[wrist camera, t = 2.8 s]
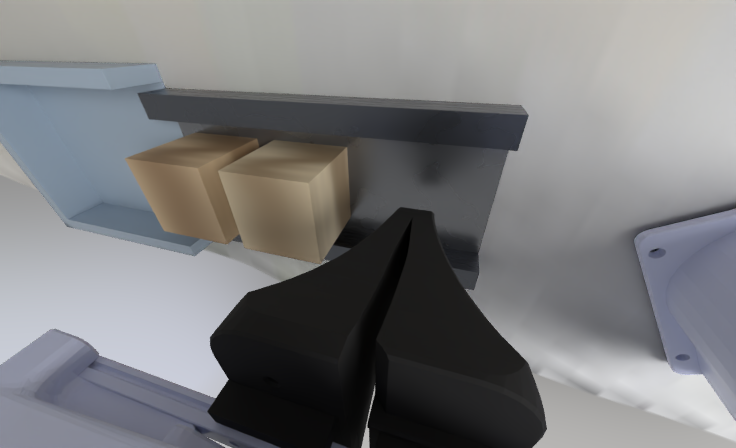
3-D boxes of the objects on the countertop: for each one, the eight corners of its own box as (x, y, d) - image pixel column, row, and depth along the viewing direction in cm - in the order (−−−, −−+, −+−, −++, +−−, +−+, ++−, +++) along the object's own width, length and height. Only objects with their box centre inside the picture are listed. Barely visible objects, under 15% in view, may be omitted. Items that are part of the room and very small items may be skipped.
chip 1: (257, 138, 14) (197, 168, 11) (272, 204, 16) (227, 244, 13) (195, 132, 15) (124, 158, 12) (218, 195, 17) (163, 231, 14)
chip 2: (347, 147, 13) (308, 182, 10) (350, 216, 15) (320, 264, 12) (273, 139, 14) (217, 170, 11) (287, 206, 16) (244, 248, 13)
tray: (163, 62, 14) (102, 68, 12) (226, 230, 20) (194, 256, 18) (12, 60, 17) (-61, 64, 14) (108, 206, 23) (66, 226, 21)
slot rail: (519, 103, 10) (528, 115, 9) (472, 263, 15) (473, 290, 14) (172, 86, 15) (137, 93, 13) (222, 217, 19) (200, 233, 18)
